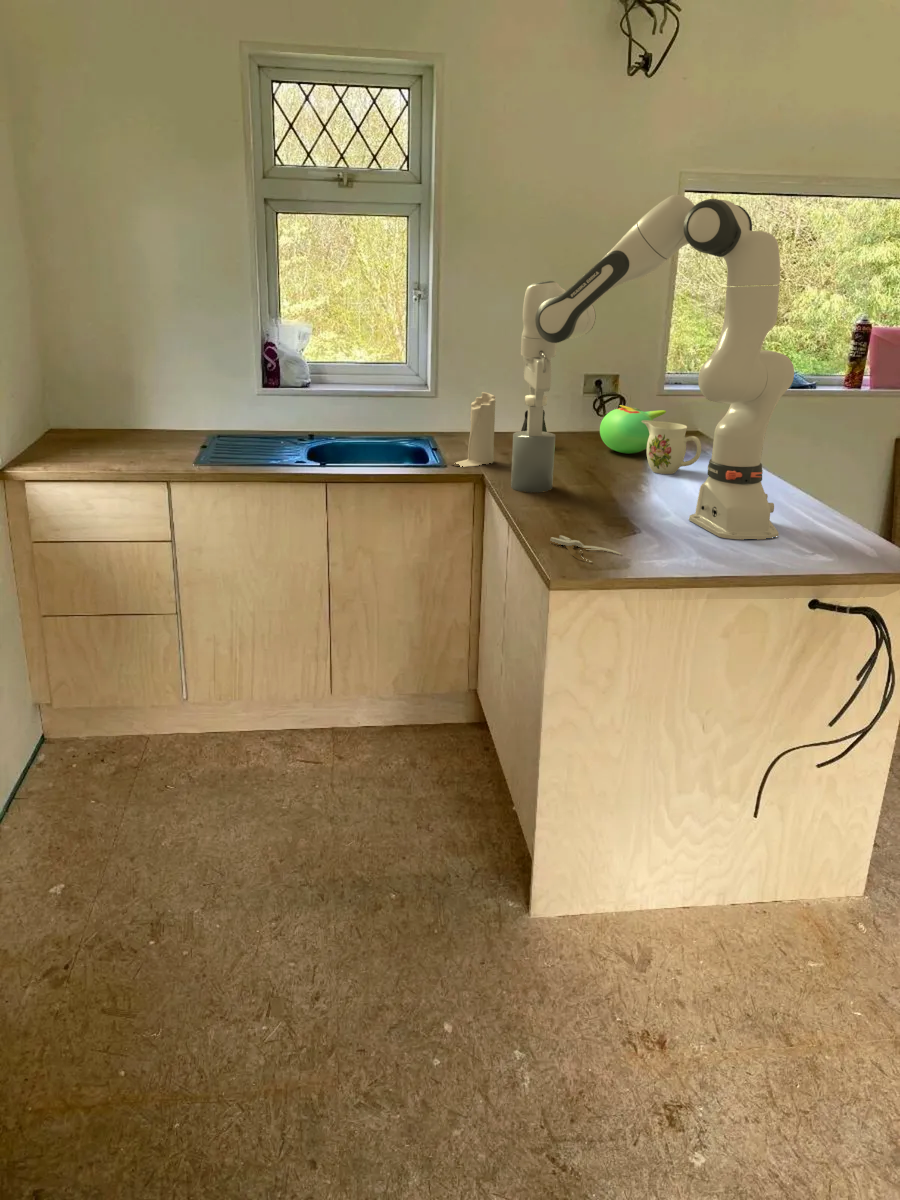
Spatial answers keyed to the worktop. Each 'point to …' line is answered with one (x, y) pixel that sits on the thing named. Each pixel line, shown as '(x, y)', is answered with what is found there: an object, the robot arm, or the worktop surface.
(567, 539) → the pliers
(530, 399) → the pump head
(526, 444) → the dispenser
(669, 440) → the pitcher
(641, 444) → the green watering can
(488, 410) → the candle
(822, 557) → the worktop surface
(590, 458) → the worktop surface
